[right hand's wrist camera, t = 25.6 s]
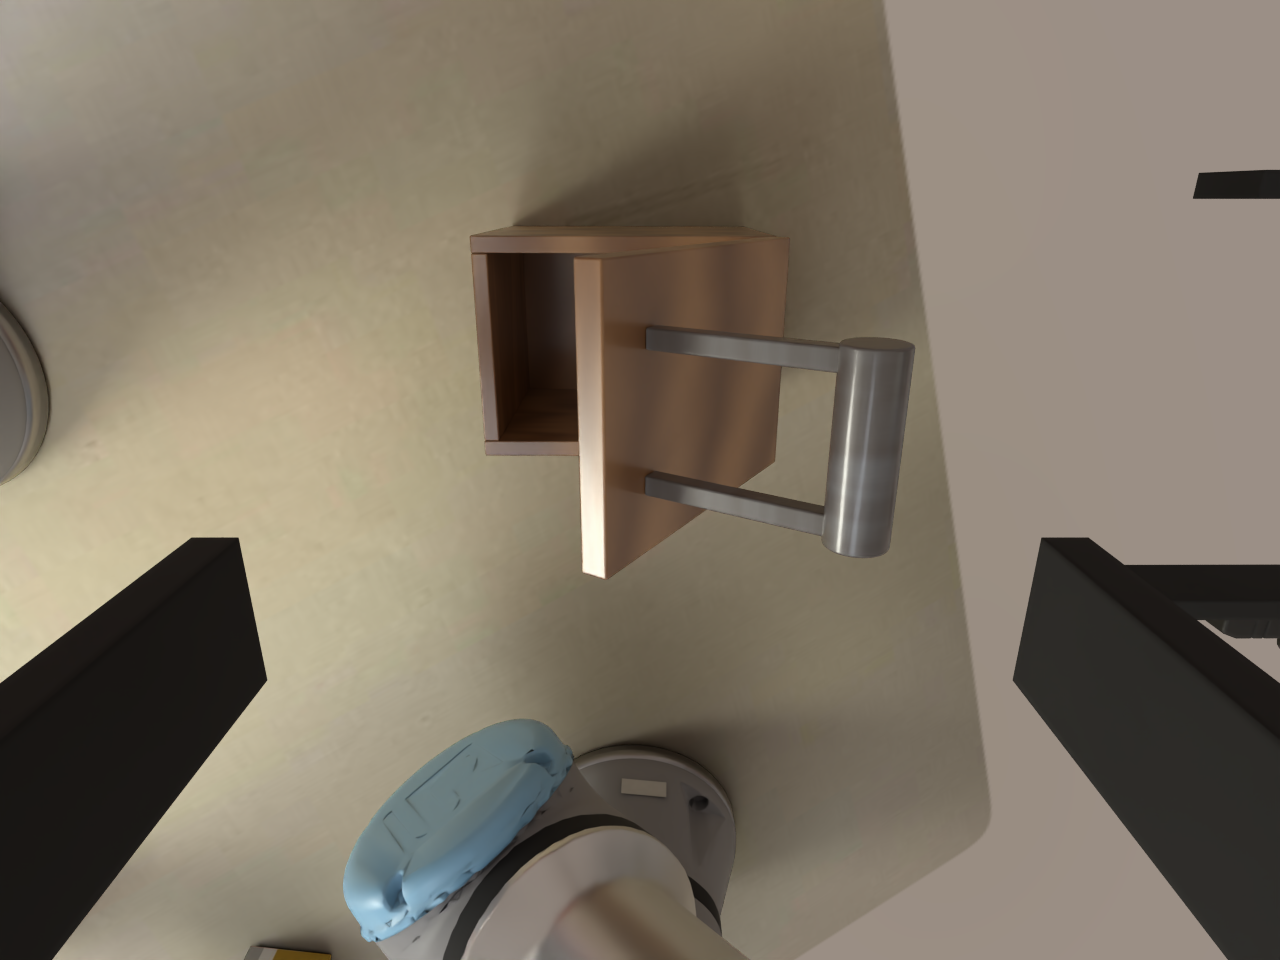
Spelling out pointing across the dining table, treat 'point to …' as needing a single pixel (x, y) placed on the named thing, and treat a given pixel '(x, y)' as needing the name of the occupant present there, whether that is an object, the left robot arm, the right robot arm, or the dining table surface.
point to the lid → (718, 402)
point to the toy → (282, 954)
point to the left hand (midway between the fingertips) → (1170, 407)
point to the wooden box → (545, 324)
